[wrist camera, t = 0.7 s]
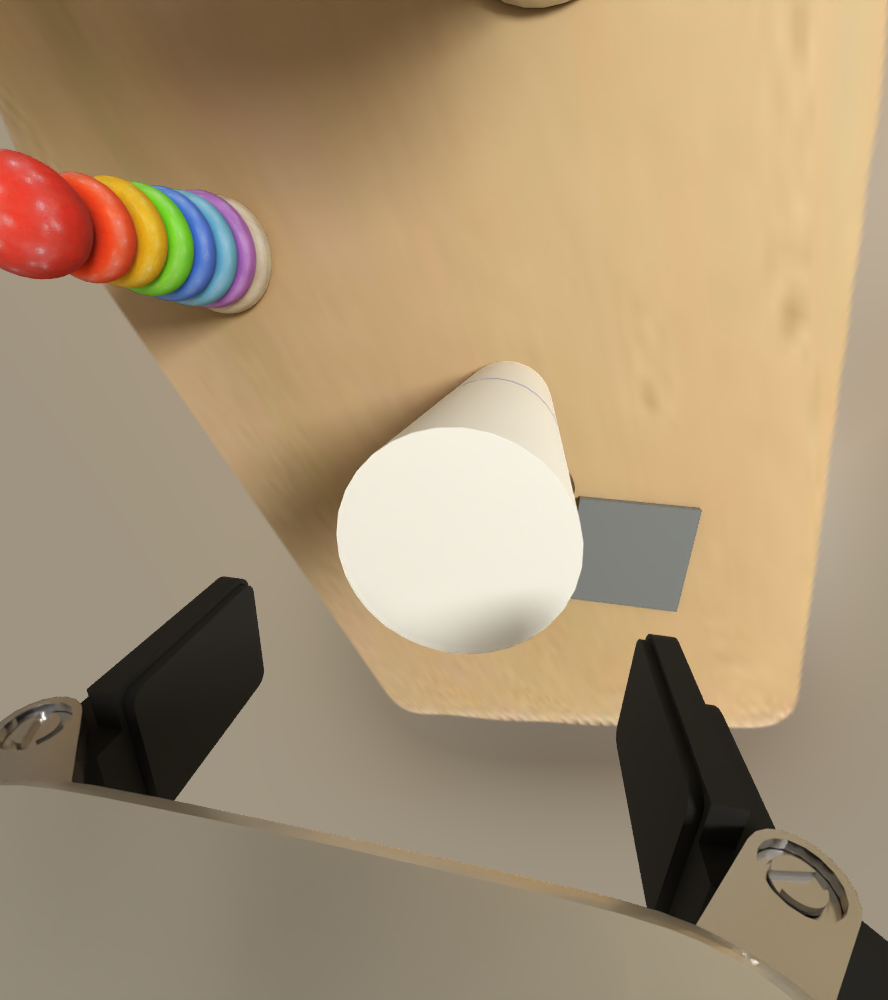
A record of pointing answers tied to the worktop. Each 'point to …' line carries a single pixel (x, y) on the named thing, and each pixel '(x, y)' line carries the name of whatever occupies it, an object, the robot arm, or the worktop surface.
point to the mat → (635, 552)
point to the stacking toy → (131, 236)
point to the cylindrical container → (467, 519)
